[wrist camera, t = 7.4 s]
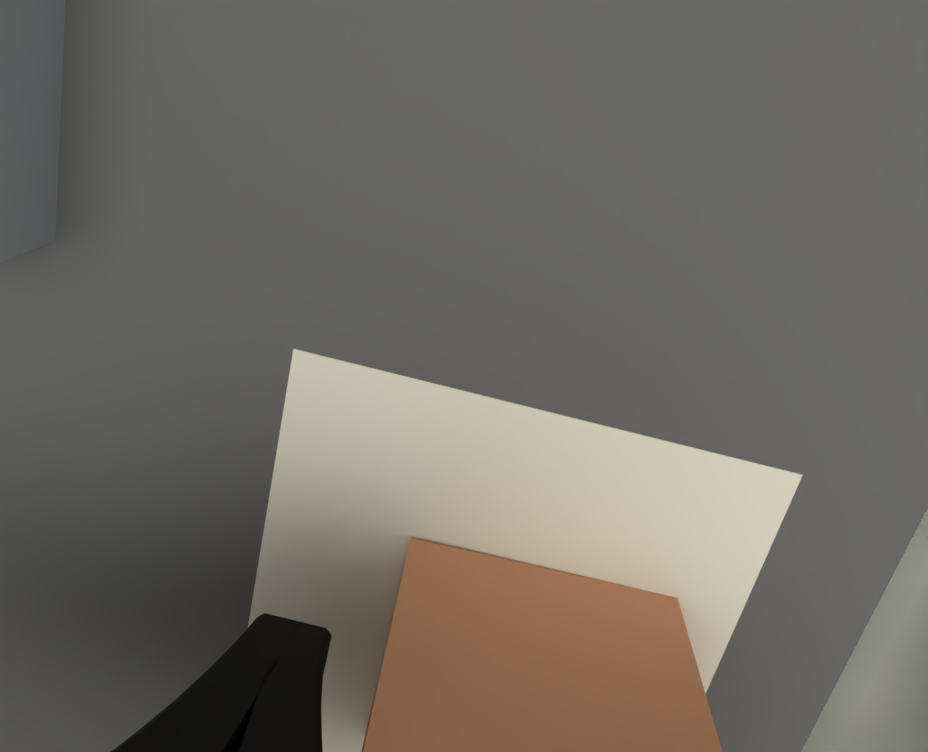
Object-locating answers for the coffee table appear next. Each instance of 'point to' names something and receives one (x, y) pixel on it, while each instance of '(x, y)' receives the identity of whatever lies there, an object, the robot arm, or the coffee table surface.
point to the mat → (463, 336)
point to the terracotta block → (533, 663)
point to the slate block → (29, 122)
